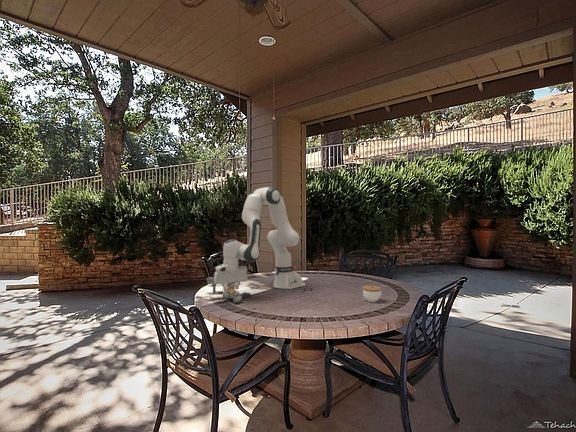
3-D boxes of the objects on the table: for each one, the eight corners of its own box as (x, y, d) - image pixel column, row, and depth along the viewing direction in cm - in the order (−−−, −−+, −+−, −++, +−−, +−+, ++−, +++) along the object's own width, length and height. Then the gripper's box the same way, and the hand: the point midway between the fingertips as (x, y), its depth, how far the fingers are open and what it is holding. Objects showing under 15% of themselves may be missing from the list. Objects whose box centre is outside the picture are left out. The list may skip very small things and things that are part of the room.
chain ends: (247, 294, 211) (247, 288, 211) (257, 301, 197) (257, 294, 197) (222, 298, 203) (222, 291, 203) (231, 305, 189) (231, 298, 189)
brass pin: (233, 298, 204) (232, 284, 203) (234, 299, 201) (234, 286, 200) (227, 298, 202) (227, 285, 202) (229, 300, 199) (229, 286, 199)
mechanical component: (220, 294, 212) (220, 278, 212) (205, 293, 214) (205, 278, 214) (222, 293, 215) (222, 277, 215) (207, 292, 217) (207, 277, 217)
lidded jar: (382, 303, 190) (382, 287, 189) (362, 302, 192) (362, 286, 191) (380, 298, 200) (380, 282, 200) (362, 297, 202) (362, 282, 202)
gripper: (245, 264, 209) (245, 286, 209) (212, 267, 199) (213, 290, 199) (249, 265, 203) (249, 288, 204) (215, 269, 193) (216, 293, 194)
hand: (231, 289), depth 201 cm, fingers open, 6 cm apart
